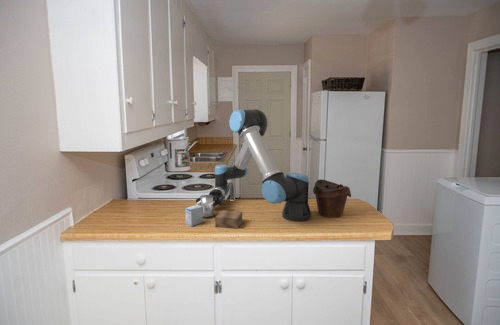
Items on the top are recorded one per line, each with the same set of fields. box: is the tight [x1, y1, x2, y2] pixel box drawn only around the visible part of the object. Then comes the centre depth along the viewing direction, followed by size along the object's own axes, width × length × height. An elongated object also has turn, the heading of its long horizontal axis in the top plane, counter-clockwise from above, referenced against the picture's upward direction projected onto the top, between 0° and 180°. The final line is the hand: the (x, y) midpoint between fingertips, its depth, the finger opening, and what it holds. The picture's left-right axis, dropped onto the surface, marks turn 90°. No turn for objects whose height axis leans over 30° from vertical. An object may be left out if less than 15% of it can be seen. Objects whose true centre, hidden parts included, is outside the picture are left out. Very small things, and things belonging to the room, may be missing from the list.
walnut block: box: [214, 210, 243, 229], centre depth 171 cm, size 11×11×5 cm
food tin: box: [200, 194, 214, 218], centre depth 181 cm, size 7×7×10 cm
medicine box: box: [184, 204, 204, 227], centre depth 171 cm, size 8×4×9 cm, turn 141°
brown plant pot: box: [312, 179, 352, 218], centre depth 185 cm, size 18×20×18 cm
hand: (203, 206), depth 176 cm, fingers closed on food tin, 6 cm apart
